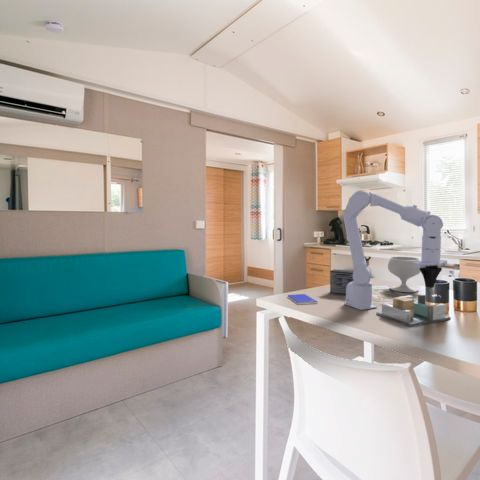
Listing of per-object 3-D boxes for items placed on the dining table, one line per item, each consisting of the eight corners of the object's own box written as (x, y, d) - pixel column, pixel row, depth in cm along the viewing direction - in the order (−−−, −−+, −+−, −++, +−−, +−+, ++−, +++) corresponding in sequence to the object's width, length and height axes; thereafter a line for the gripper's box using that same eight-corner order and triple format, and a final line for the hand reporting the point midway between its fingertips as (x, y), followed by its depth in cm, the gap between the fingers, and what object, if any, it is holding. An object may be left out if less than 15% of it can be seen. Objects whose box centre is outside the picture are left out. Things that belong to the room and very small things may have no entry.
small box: (357, 293, 147) (357, 270, 146) (353, 296, 142) (354, 272, 141) (333, 290, 153) (334, 268, 152) (329, 293, 147) (329, 270, 147)
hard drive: (317, 300, 131) (305, 293, 143) (298, 302, 129) (287, 294, 141) (317, 304, 131) (305, 297, 143) (298, 306, 129) (287, 298, 141)
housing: (392, 315, 112) (393, 298, 112) (402, 313, 114) (402, 296, 113) (403, 319, 108) (404, 301, 107) (413, 317, 110) (414, 299, 109)
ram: (402, 309, 118) (403, 293, 117) (411, 308, 119) (412, 292, 119) (427, 317, 108) (428, 299, 108) (437, 315, 110) (437, 298, 109)
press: (376, 314, 116) (376, 299, 115) (414, 308, 123) (414, 294, 122) (410, 326, 103) (410, 310, 102) (450, 319, 110) (451, 303, 109)
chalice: (401, 294, 144) (402, 260, 143) (380, 287, 158) (381, 257, 157) (427, 292, 148) (429, 259, 147) (405, 286, 161) (406, 256, 160)
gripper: (426, 251, 109) (425, 291, 110) (456, 249, 114) (454, 287, 115) (408, 249, 115) (407, 287, 116) (437, 247, 121) (435, 283, 122)
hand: (429, 287), depth 116 cm, fingers closed
